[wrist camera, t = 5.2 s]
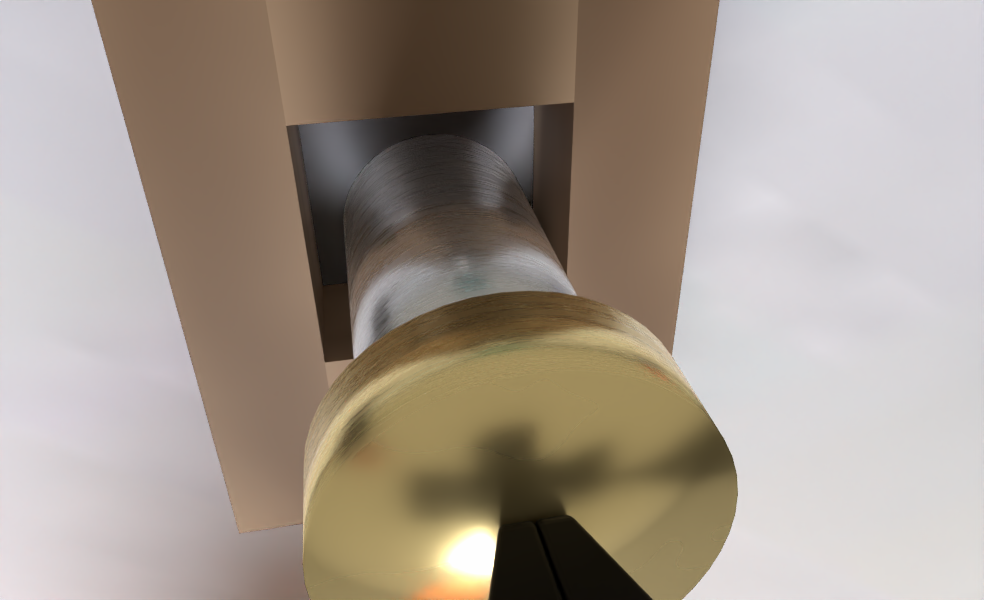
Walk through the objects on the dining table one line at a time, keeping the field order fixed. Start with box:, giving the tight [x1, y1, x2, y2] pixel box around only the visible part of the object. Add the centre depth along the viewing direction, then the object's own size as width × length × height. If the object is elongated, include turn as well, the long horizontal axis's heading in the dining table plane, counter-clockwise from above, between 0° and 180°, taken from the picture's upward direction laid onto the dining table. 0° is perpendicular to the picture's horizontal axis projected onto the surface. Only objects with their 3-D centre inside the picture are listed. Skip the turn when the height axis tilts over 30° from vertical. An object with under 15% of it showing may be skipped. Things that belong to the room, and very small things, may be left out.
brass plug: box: [303, 134, 738, 600], centre depth 12 cm, size 5×5×8 cm
